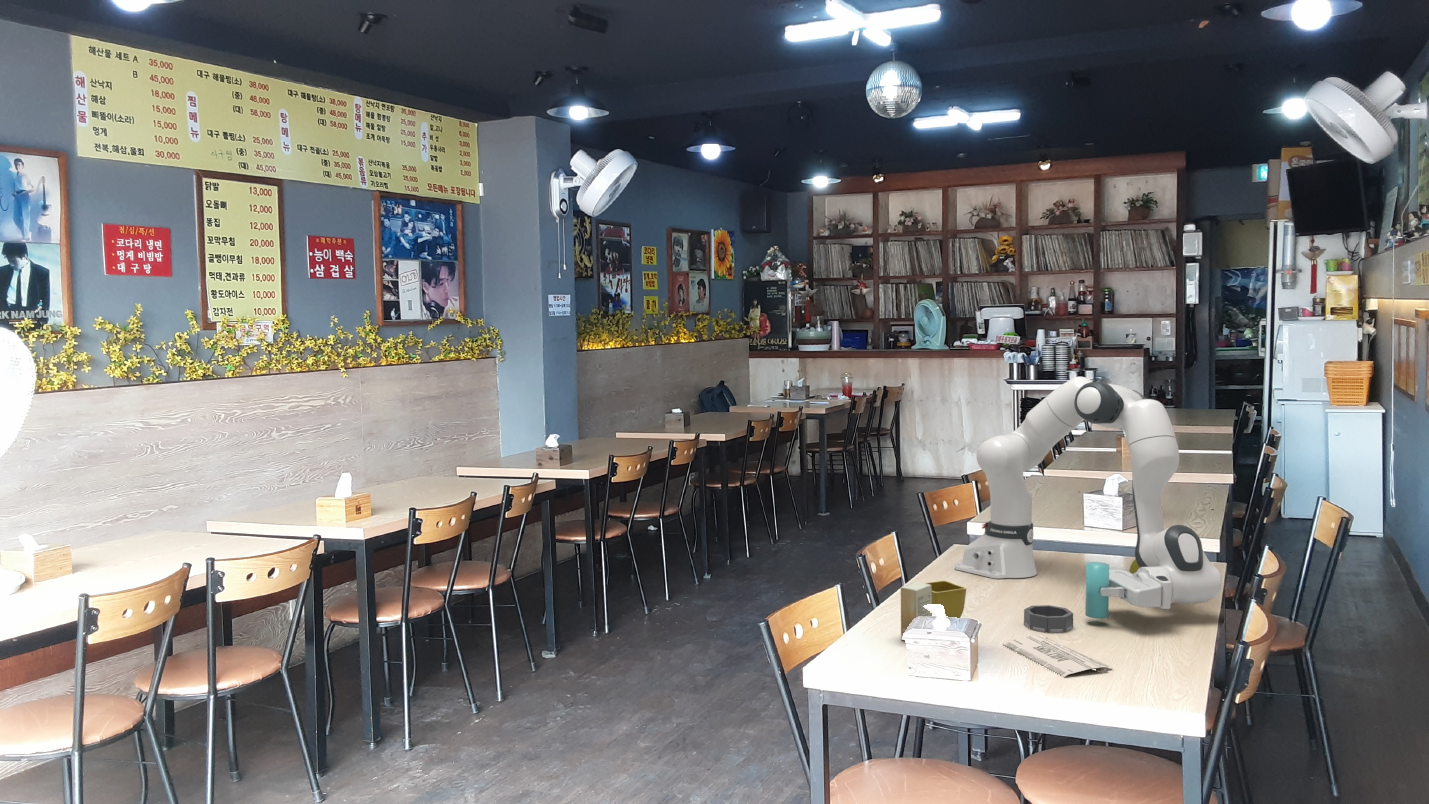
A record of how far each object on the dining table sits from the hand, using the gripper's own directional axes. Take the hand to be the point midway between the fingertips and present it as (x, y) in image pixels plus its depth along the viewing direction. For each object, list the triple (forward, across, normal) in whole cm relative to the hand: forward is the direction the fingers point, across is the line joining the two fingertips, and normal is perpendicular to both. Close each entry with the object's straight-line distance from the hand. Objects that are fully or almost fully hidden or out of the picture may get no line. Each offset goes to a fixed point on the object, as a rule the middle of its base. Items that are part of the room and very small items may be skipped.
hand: (1093, 587), depth 240 cm
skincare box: (+44, +6, +9) cm, 45 cm away
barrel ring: (+11, 0, +8) cm, 14 cm away
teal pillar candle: (-1, 0, +6) cm, 7 cm away
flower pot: (+35, -5, +9) cm, 36 cm away
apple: (-28, -28, +9) cm, 41 cm away
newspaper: (+18, +22, +9) cm, 30 cm away
